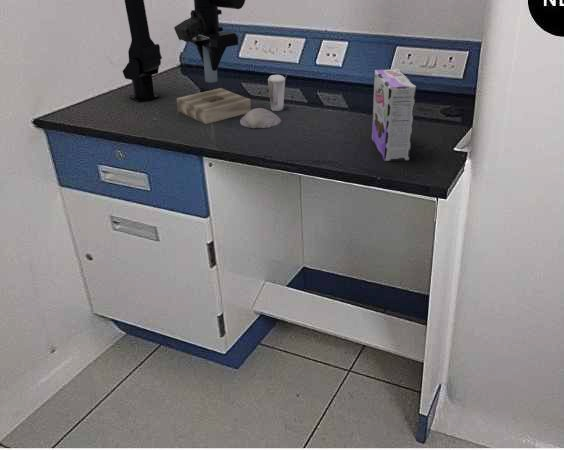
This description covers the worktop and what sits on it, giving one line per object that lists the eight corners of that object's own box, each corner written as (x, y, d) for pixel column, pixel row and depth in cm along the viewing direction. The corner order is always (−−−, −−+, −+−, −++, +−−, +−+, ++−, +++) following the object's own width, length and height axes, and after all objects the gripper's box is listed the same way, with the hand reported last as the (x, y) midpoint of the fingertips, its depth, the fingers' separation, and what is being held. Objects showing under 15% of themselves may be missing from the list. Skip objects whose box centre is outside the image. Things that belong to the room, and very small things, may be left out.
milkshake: (286, 112, 165) (286, 74, 160) (267, 111, 166) (265, 73, 161) (290, 107, 169) (289, 70, 164) (270, 106, 170) (269, 69, 165)
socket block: (177, 111, 168) (176, 98, 166) (221, 100, 176) (220, 88, 174) (206, 124, 158) (204, 110, 157) (250, 112, 166) (250, 99, 164)
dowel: (202, 80, 163) (200, 45, 159) (213, 78, 165) (210, 43, 161) (209, 83, 161) (206, 47, 157) (219, 80, 163) (217, 45, 158)
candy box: (370, 138, 147) (373, 68, 139) (395, 137, 147) (400, 67, 139) (383, 161, 135) (388, 86, 127) (410, 160, 135) (416, 85, 127)
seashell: (232, 117, 154) (246, 96, 161) (235, 136, 158) (249, 115, 165) (271, 119, 151) (283, 99, 158) (274, 138, 155) (286, 117, 162)
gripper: (158, 5, 156) (165, 67, 164) (198, 15, 143) (203, 82, 151) (196, -1, 162) (201, 60, 170) (238, 9, 149) (241, 74, 157)
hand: (210, 69), depth 161 cm, fingers closed on dowel, 3 cm apart
